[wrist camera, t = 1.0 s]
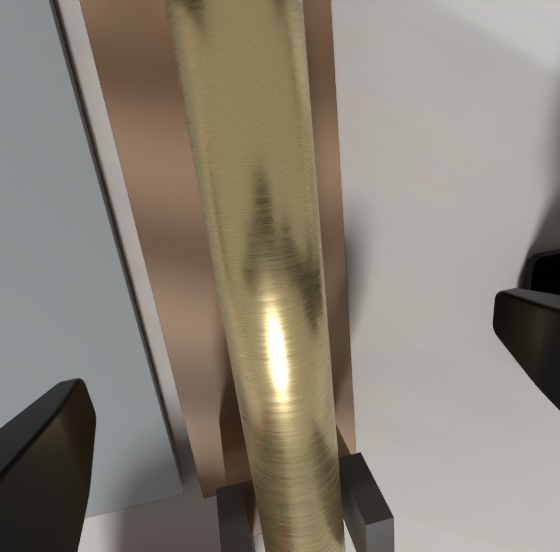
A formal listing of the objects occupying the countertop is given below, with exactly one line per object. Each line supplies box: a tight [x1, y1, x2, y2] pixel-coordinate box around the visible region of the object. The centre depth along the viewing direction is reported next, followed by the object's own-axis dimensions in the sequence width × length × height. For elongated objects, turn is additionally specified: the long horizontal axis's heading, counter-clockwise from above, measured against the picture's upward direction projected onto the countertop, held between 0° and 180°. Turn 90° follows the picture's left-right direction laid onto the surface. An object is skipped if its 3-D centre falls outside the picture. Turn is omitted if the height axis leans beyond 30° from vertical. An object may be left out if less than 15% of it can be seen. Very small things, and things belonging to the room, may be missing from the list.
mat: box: [0, 0, 184, 518], centre depth 17 cm, size 8×26×1 cm, turn 7°
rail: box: [163, 0, 346, 552], centre depth 12 cm, size 24×3×3 cm, turn 7°
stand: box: [79, 0, 394, 552], centre depth 14 cm, size 26×8×8 cm, turn 7°
